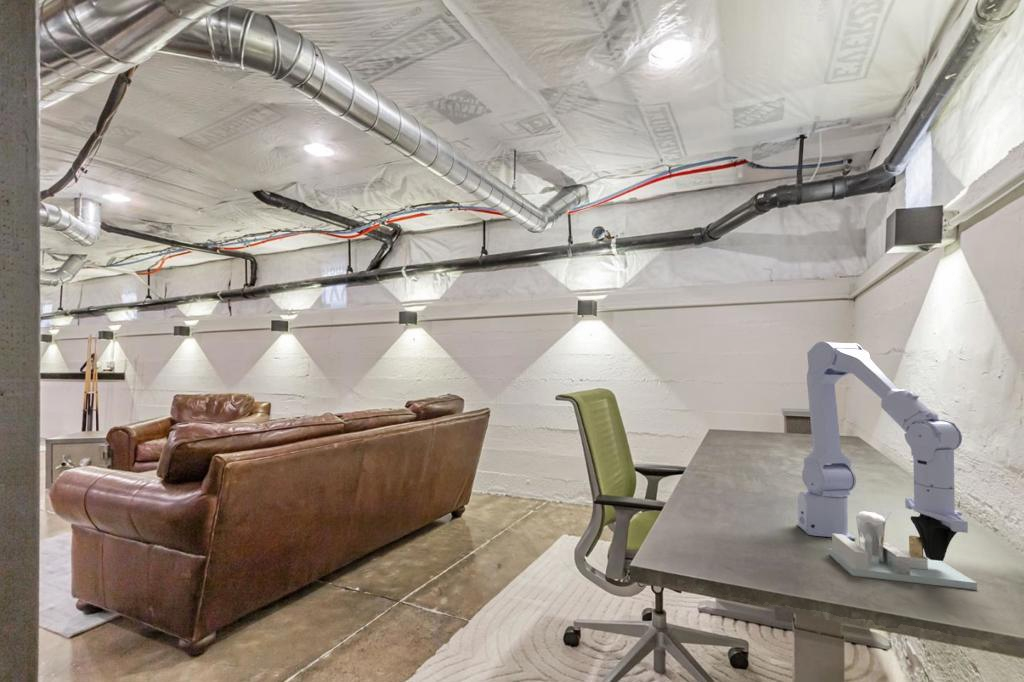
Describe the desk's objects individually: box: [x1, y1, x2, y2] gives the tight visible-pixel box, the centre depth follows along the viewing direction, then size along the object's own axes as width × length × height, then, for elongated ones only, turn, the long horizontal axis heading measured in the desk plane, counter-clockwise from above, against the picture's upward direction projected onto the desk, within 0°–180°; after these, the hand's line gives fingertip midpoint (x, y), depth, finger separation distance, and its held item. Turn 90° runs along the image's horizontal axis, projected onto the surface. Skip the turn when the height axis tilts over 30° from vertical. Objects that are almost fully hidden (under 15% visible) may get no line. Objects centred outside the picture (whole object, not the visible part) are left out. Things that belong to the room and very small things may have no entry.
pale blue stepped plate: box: [828, 533, 978, 591], centre depth 89 cm, size 19×10×4 cm, turn 77°
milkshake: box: [855, 510, 892, 565], centre depth 90 cm, size 4×5×10 cm
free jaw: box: [882, 535, 929, 575], centre depth 89 cm, size 6×10×5 cm, turn 167°
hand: (934, 559), depth 88 cm, fingers closed, pressing on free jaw
